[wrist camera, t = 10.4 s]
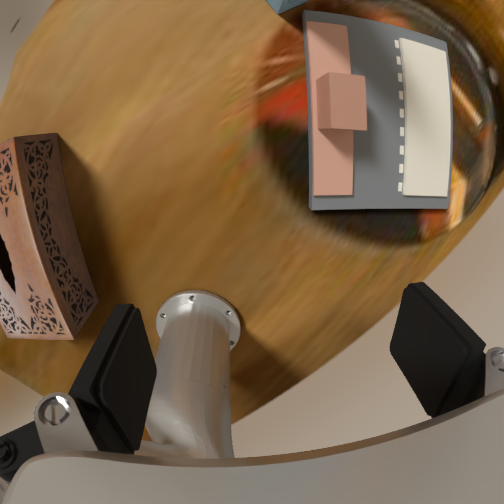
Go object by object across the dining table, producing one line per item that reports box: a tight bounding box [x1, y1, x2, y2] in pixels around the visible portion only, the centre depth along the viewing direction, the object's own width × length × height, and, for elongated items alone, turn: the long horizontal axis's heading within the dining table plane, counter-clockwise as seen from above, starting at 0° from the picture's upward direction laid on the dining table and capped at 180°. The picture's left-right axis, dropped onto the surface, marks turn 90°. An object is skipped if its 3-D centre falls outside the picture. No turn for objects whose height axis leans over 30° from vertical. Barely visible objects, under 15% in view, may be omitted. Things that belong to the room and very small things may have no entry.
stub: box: [306, 21, 367, 195], centre depth 28 cm, size 22×5×6 cm, turn 2°
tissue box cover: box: [0, 133, 99, 340], centre depth 31 cm, size 26×14×10 cm, turn 6°
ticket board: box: [302, 10, 453, 210], centre depth 32 cm, size 26×22×2 cm
